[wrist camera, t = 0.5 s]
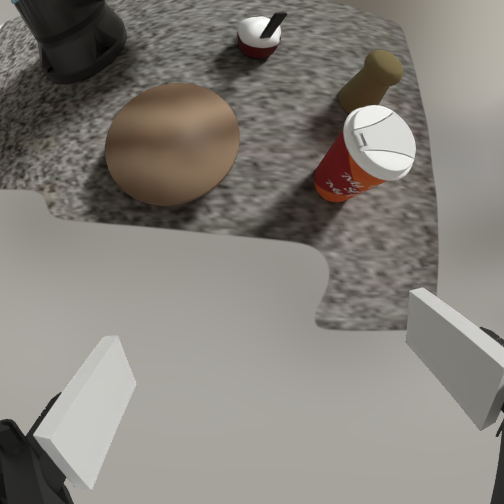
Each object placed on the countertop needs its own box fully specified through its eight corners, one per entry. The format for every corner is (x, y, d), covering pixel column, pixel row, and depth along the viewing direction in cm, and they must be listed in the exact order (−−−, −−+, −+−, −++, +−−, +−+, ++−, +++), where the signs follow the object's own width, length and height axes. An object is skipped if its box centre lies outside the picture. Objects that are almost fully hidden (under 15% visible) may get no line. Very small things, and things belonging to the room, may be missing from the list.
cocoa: (239, 33, 39) (244, -24, 28) (278, 37, 40) (290, -19, 28) (231, 71, 38) (235, 9, 26) (275, 76, 38) (290, 16, 27)
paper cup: (316, 217, 37) (368, 182, 23) (297, 160, 38) (336, 103, 24) (368, 203, 38) (432, 169, 24) (349, 150, 39) (401, 99, 25)
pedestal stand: (115, 121, 35) (103, 100, 30) (223, 98, 37) (225, 74, 32) (126, 227, 34) (111, 218, 29) (248, 200, 36) (253, 187, 31)
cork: (352, 80, 40) (382, 37, 29) (380, 107, 40) (416, 69, 29) (330, 97, 39) (359, 52, 28) (360, 125, 39) (397, 86, 29)
